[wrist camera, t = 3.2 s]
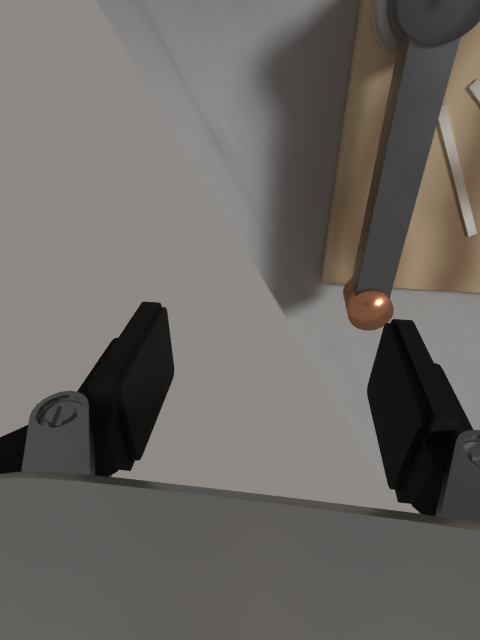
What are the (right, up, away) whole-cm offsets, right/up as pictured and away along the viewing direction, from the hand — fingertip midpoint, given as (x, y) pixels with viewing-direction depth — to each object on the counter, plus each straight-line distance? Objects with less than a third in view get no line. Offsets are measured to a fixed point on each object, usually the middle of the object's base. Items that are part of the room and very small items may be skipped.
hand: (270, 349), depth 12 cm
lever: (+9, +11, +12) cm, 19 cm away
